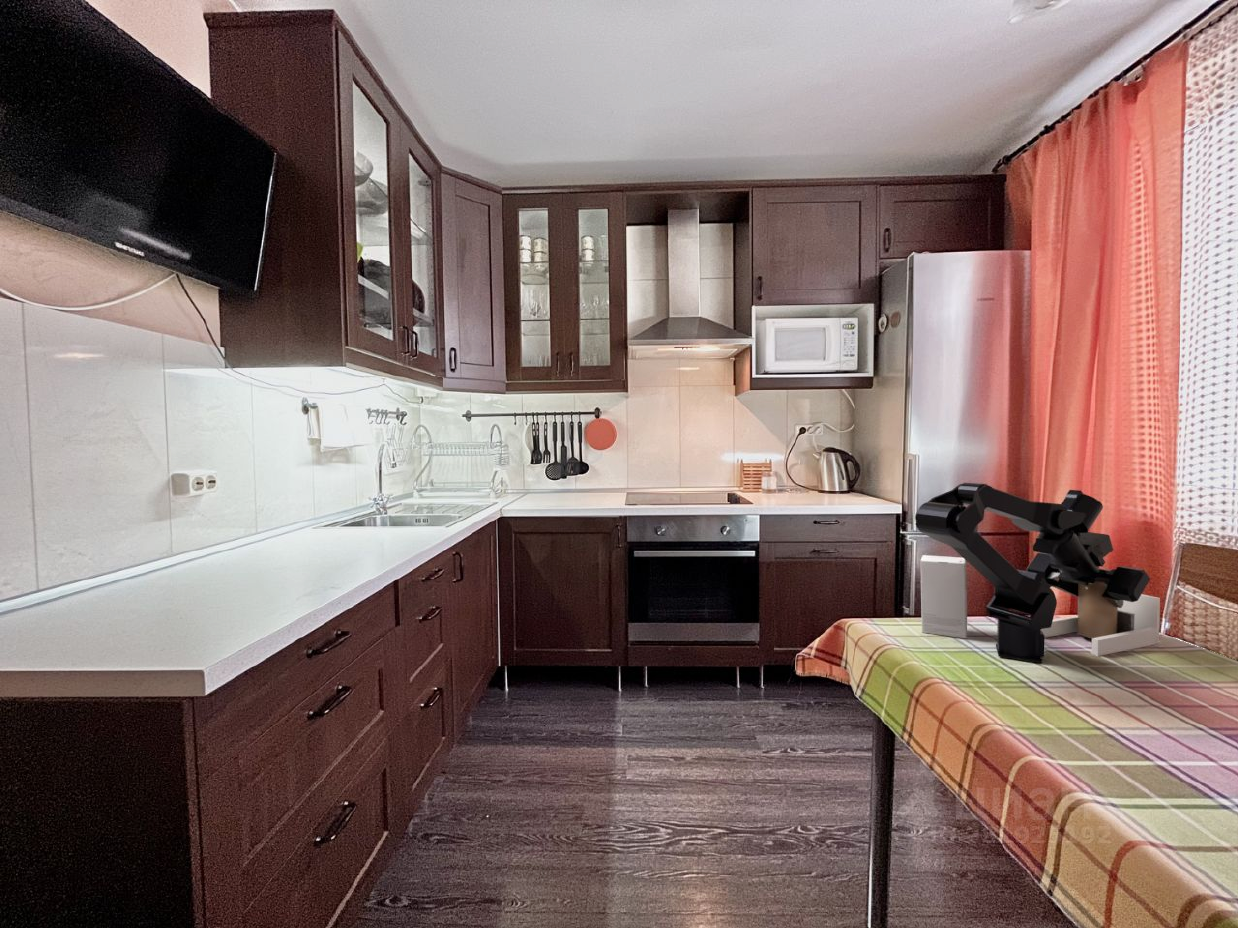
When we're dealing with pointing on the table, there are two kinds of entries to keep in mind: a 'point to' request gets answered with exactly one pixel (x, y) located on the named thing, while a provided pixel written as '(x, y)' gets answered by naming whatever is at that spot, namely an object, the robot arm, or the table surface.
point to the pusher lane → (1141, 636)
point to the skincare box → (944, 596)
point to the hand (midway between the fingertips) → (1102, 601)
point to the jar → (1095, 611)
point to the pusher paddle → (1125, 622)
